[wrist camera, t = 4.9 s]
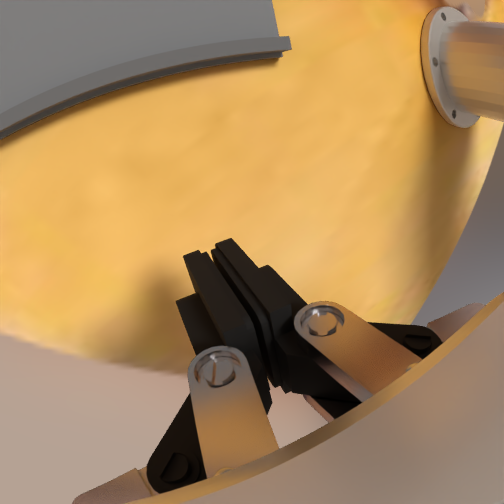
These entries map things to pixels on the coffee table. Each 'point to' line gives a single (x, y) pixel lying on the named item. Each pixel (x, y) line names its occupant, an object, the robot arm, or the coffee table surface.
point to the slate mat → (118, 47)
